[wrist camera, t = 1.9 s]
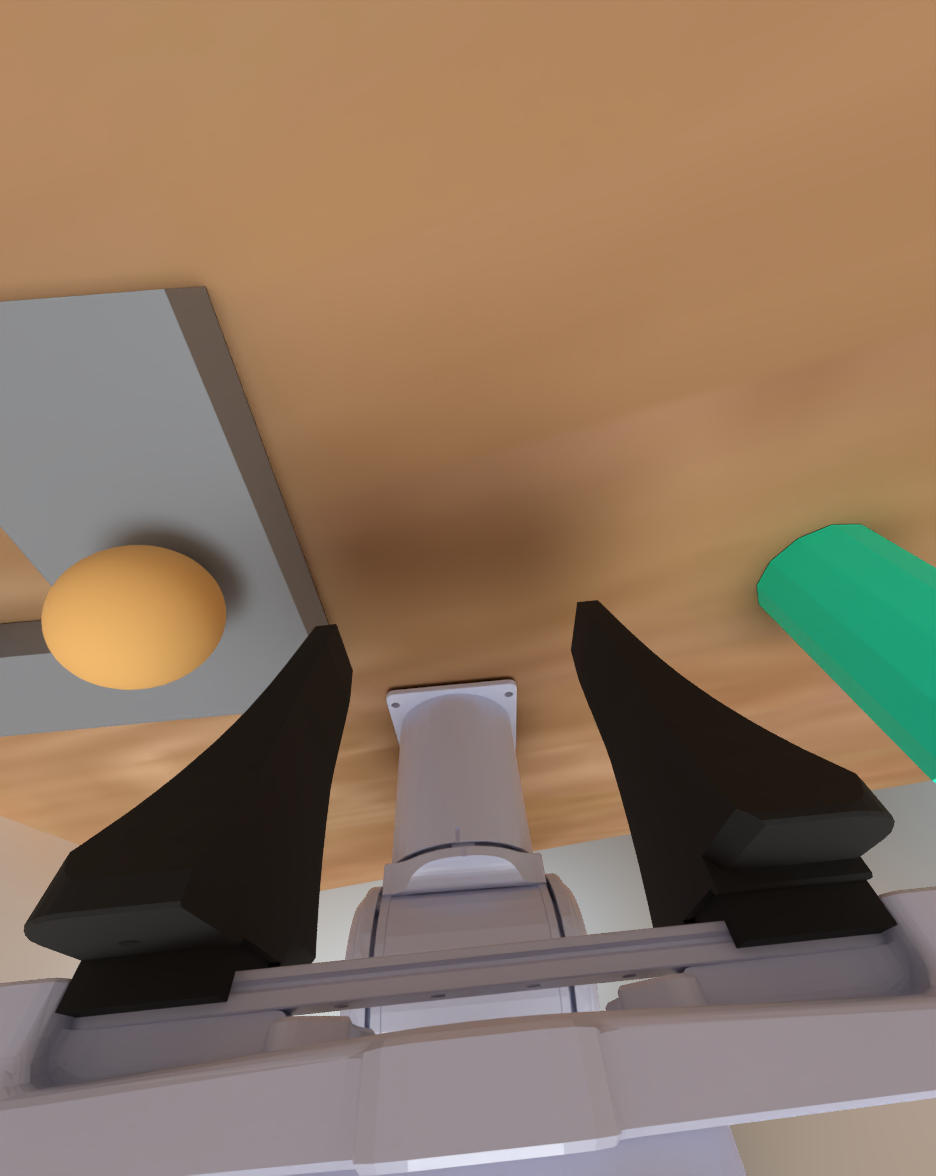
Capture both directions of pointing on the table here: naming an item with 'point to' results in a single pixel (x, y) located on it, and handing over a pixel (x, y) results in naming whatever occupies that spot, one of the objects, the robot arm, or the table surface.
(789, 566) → the candle
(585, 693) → the robot arm
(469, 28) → the table surface
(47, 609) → the ball
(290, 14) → the table surface
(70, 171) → the table surface
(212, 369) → the plate
